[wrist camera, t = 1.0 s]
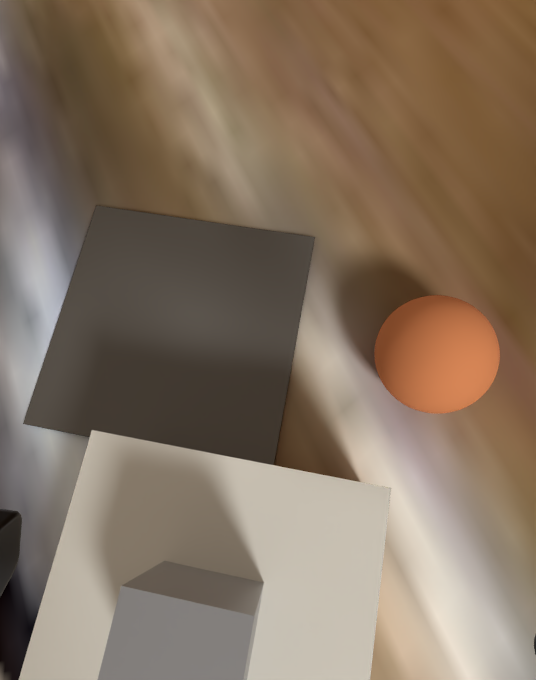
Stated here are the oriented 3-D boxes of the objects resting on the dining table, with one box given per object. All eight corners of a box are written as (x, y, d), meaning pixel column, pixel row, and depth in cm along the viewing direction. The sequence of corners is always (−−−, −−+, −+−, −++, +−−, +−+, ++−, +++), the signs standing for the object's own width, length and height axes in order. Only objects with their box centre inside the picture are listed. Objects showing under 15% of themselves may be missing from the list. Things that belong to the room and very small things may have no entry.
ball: (469, 430, 22) (520, 413, 17) (360, 410, 22) (378, 389, 17) (476, 327, 23) (524, 286, 18) (373, 311, 24) (394, 266, 19)
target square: (272, 472, 22) (272, 472, 21) (25, 424, 23) (23, 423, 22) (314, 239, 25) (314, 237, 25) (97, 207, 26) (96, 205, 26)
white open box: (328, 761, 18) (371, 1068, 9) (78, 697, 19) (-135, 909, 10) (363, 487, 21) (424, 488, 12) (144, 445, 22) (31, 412, 12)
